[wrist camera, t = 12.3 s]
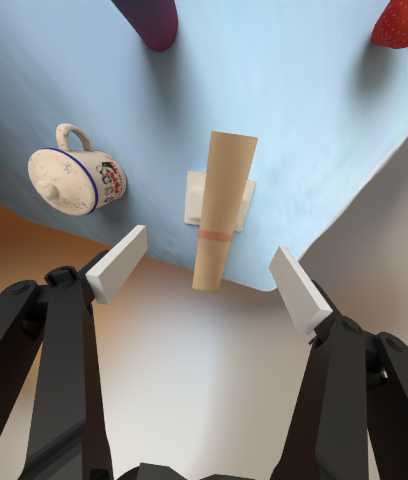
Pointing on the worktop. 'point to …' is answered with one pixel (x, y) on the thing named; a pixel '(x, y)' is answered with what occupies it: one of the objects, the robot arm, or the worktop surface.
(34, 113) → the worktop surface
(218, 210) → the beam
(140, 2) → the cup
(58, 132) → the teacup with lid
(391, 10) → the fruit
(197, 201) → the fulcrum
